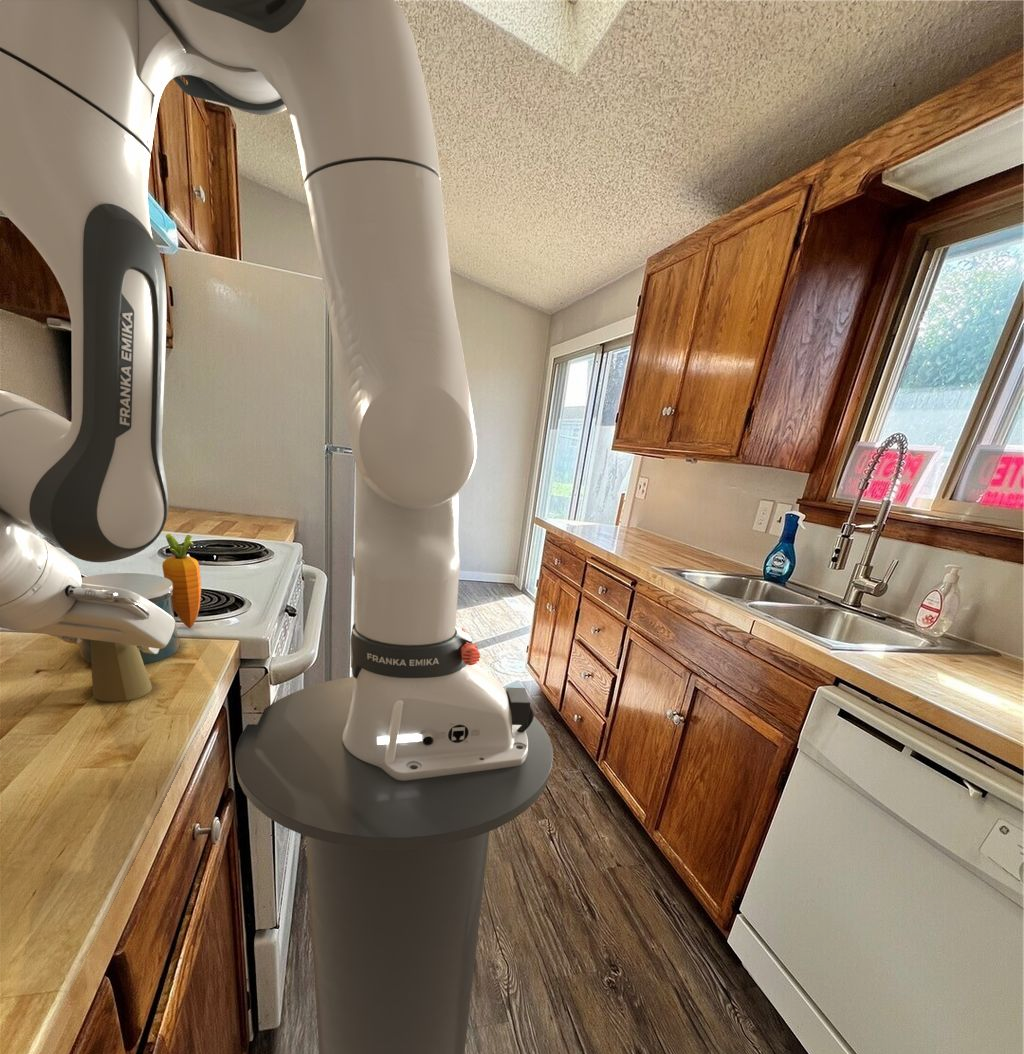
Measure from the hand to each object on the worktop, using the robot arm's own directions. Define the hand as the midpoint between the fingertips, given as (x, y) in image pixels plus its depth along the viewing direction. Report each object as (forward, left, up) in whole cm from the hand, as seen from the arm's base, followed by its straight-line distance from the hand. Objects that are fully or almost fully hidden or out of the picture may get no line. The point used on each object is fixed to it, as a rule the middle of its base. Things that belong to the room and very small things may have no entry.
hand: (115, 642), depth 66 cm
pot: (+4, -13, -6) cm, 15 cm away
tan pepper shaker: (0, 0, -6) cm, 6 cm away
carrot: (0, -23, -6) cm, 24 cm away
